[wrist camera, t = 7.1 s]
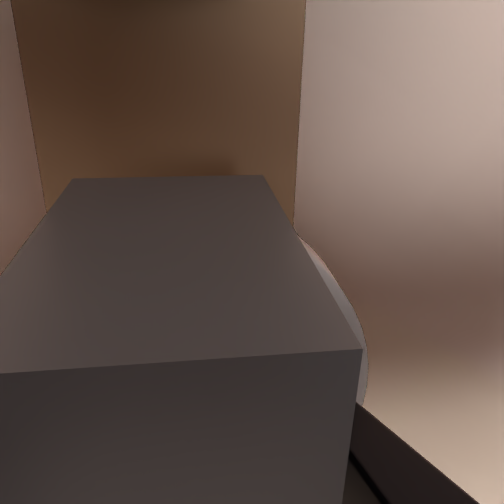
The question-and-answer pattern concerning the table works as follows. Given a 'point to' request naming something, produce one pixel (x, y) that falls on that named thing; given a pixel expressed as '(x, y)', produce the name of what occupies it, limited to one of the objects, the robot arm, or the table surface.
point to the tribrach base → (163, 89)
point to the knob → (174, 351)
